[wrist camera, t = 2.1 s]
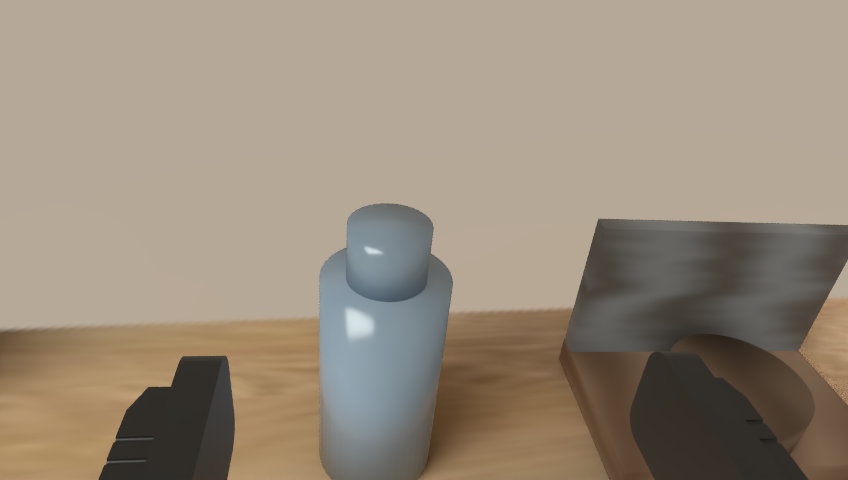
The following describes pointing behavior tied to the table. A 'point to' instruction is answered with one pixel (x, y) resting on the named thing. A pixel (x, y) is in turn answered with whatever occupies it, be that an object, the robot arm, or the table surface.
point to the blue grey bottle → (381, 345)
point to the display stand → (708, 328)
